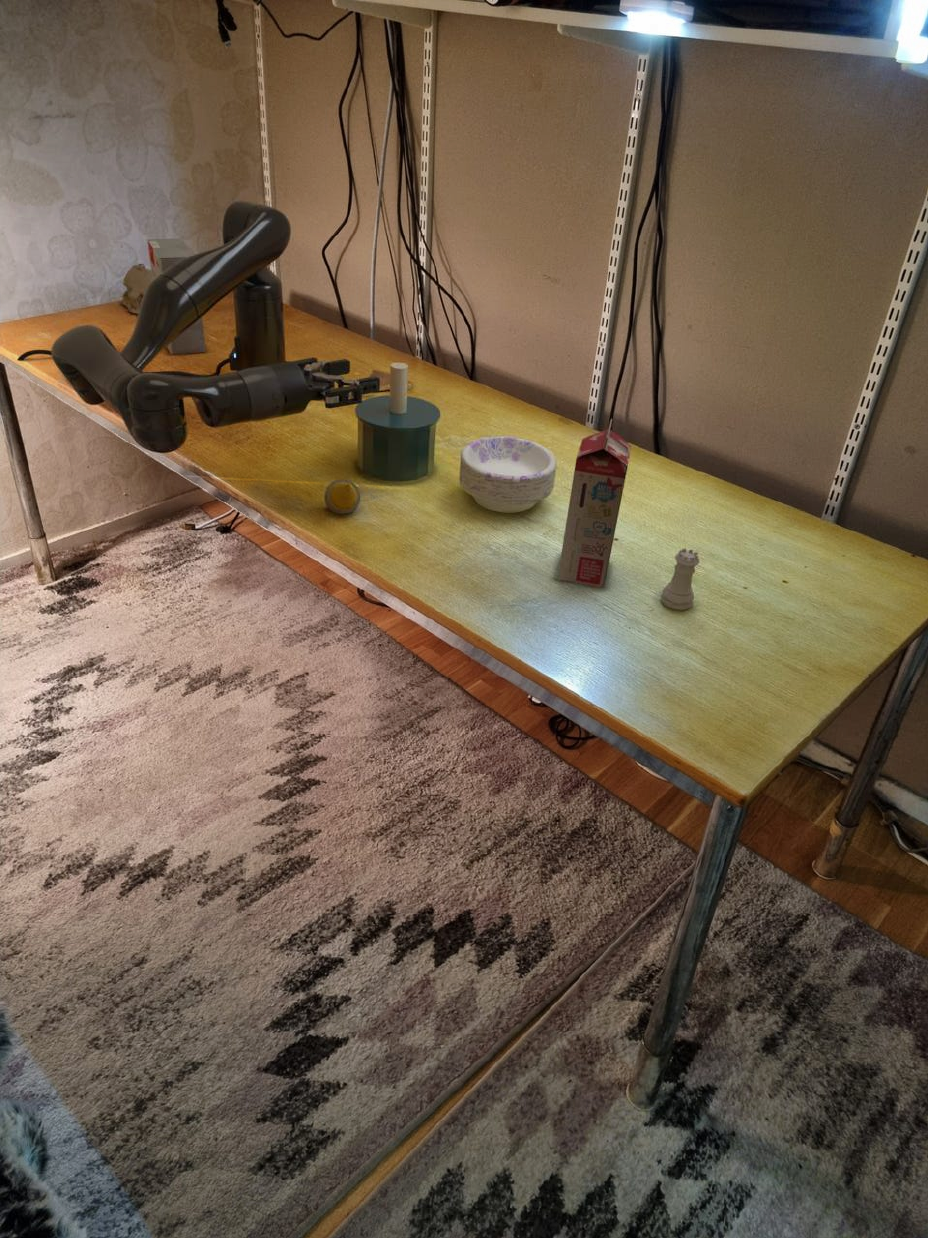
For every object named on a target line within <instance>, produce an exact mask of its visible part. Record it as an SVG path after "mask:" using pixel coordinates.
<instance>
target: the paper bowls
mask: <svg viewBox="0 0 928 1238" xmlns="http://www.w3.org/2000/svg"><path fill="white" fill-rule="evenodd" d="M557 463H558V461H557V458H556V457H555V455H554V453H553V452H552V451H551V450H550V449H549V448H547V447H545V446H543V445H541V444H540V443H537V442H534V441H532V440H529V439H525V438H520V437H514V436H487V437H482V438H478V439H475V440H473V441H471V442H469V443H467V444H466V445H465V446H464V448H462V449H461V452H460V464H459V465H460V466H459V476H458V477H459V479H458V480H459V485H460V487H461V488H462V489H463V490H464V491H465V492H466V493H467V494H468V495H469V496H472V498H473V499H474V501H475V502H476V503H477V504H478V505H480V506H481V507H483V508H485V509H487V510H490V511H493V512H498V513H504V514H514V513H515V514H516V513H522V512H524V511H527V510H529V509H531V508H532V507H534V506H535V504H537V503H538V502H541V501H543V500H545V499H547V498H548V497H549V496H550V495H551V494H552V492H553V490H554V485H555V478H556V472H557V465H558V464H557Z"/></svg>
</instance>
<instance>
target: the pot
mask: <svg viewBox="0 0 928 1238" xmlns="http://www.w3.org/2000/svg"><path fill="white" fill-rule="evenodd" d="M436 429H437V423H436V424H435V425H433V426H431V427H429V428H426V429H422V430H416V431H388V430H382V429H378V428H374V427H371V426H368V425H366V424H364V423H363V422H361V421H360V420H359V419H358V418H357V467H358V468H359V470H360V471H361V472H362V473H363V474H365V475H367V476H369V477H371V478H373V479H378V480H382V481H386V482H401V483H402V482H410V481H417V480H419V479H422V478H425V477H428V476H429V475H430V474H431V473H432V472H433V471H434V465H435V448H436V447H435V445H436V432H437V431H436Z"/></svg>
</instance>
